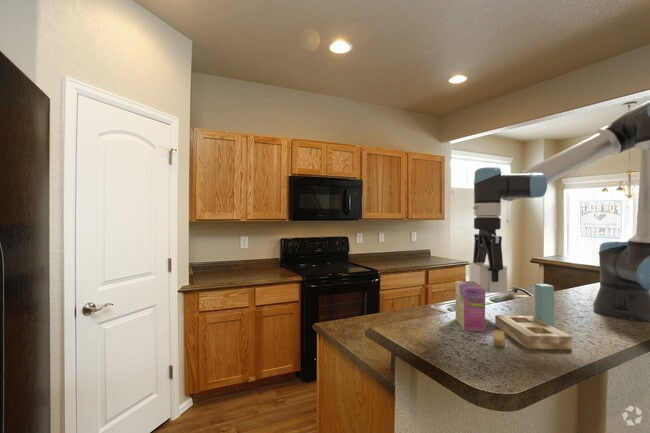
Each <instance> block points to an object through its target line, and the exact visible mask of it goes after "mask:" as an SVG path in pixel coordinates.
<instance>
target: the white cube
mask: <svg viewBox="0 0 650 433" xmlns="http://www.w3.org/2000/svg"><path fill="white" fill-rule="evenodd" d="M468 264H469V281H473V282H476V283H477V284H478V285H480V286H481V287H482V288H484V289H485V294H487V293H488V294H489V293H492V294H493V293H494V294H496V293H495V292H488V269H489V268H490V267H489V262H485V263H474V262H472V261H471V262H469V263H468ZM501 293H502V294H508V265H504V264H503V270H500V271H499V293H498V294H501Z"/></svg>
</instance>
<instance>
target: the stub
mask: <svg viewBox="0 0 650 433" xmlns="http://www.w3.org/2000/svg"><path fill="white" fill-rule="evenodd" d="M493 347H494V348H497V349H505V348H506V333H505V332H503V331H502V330H501V329H498V330H497V329H496V330H493Z"/></svg>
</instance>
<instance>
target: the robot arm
mask: <svg viewBox="0 0 650 433" xmlns="http://www.w3.org/2000/svg"><path fill="white" fill-rule="evenodd" d="M633 148H636V149H637V150H639V151H640V152H641V153H640V169H639V170H640V171H639V184H638V188H639V189H638V197H637V198H638V200H637V215H636V230H635V235H633V236H632V237H631V238H628V240H625V241H604V242H602V243H601V244H599V251H598V256H599V259H598V260H599V289H598V291H597V294H596V296H595V299H594V301H593V311H594V312H596V313H598V314H601V315H605V316H608V317H612V318H618V319H623V320H630V321H640V322H641V321H642V322H650V100H649V101H646V102H644V103H642V104H640V105H638V106H636V107H634V108H632V109H630V110H628V111H627V112H625V113H624V114H622V115H621V116H620V117H618V118H616V119H615V120H614V121H612V122H610V123H609V124H607V125H605V126H603V127H601V128H599V129H597V130H596V131H595V134H594V135H592V136H590V137H589V138H586V139H584V140H582V141H580V142H578V143H576V144H574V145H571V146H570V147H568V148H566V149H564V150H562V151H560V152H558V153H556V154H554V155H552V156H550V157H548V158H546V159H544V160H542V161H540V162H538V163H536V164H534V165H532V166H530V167H528V168H526V169H524V170H521V171H520V172H519V173H503V172H502V169H501V168H500V167H497V166H487V167H485V166H484V167H481V168H477V169H476V170H475V171H474V180H473V197H474V198H473V200H474V202H473V207H472V209H473V211H474V212H473V214H474V216H475V217H474V218H473V228H474V230H478V233H474V235H473V236H474V245H473V260H472V263H486V260H488V263H489V267H490V268H489V269H488V292H495V293H494V294H500V293H499V271H500V270H503V265H504V263H503V249H502V241H503V240H502V238H503V237H502V236H501V235H497V232H496V231H498V230H500V229H501V228H502V223H501V222H502V220H501V218H500V216H501V215H502V203H501V202H502V201H501V200H504V201H508V202H511V201H512V202H513V201H515V200H519V199H535V198H542V197H545V195H546V193H547V190H548V184H551V183H553V182H555V181H556V180H559V179H561V178H563V177H565V176H567V175H569V174H571V173H573V172H575V171H578V170H579V169H582V168H583V167H586V166H588V165H591V164H592V163H595V162H596V161H598V160H600V159H602V158H605V157H607V156H608V155H609V156H616V155H619V154H621V153H623V152H626V151H628V150H631V149H633Z"/></svg>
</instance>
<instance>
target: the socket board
mask: <svg viewBox="0 0 650 433" xmlns="http://www.w3.org/2000/svg"><path fill="white" fill-rule="evenodd" d="M494 318H495V319H494V322H495V327H496V328H498V330H500V331H503V332H505V335H507V336H509V337H511V338H512V339H513V340H515V342H517V343H519V344H521V345H522V347H524V348H526V349H527V350H528V349H529V350H572V349H573V345H572V344H573V343H572V342H573V340H572V339H573V338H572V337H573V336H571V335H570V334H567V333H566V332H564V331H562V330H560V329H558V328H556V327H555V326H554V327H552V326H550V325H548V324H546V323H544V322H542V321H541V320H539V319H537V318H535V317H534V316H533V315H508V314H507V315H505V314H504V315H501V314H500V315H499V314H497V315H496V314H495V317H494Z"/></svg>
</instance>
